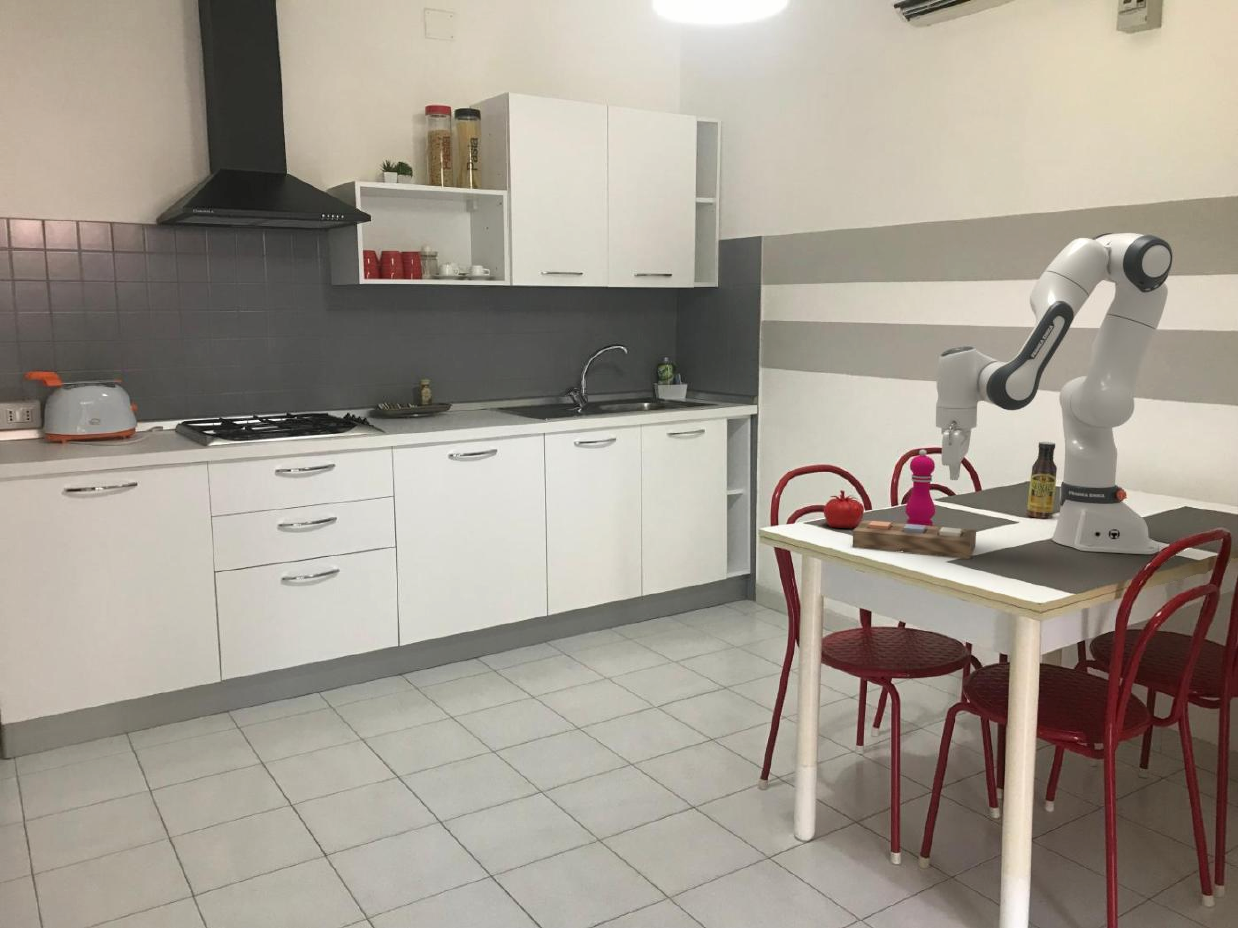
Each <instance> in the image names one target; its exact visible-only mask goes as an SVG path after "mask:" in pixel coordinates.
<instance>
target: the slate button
mask: <svg viewBox="0 0 1238 928" xmlns="http://www.w3.org/2000/svg"><path fill="white" fill-rule="evenodd" d="M905 524H906V525H905V527H904V528H903V532H911V533H921V534H925V532H926V526H925V525H914V524H907V523H905Z"/></svg>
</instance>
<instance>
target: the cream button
mask: <svg viewBox="0 0 1238 928" xmlns="http://www.w3.org/2000/svg"><path fill="white" fill-rule="evenodd" d="M941 527H942V528H941V529H940V531H939V535H943V536H953V537H961V536H962V529H963V528H957V527H956V528H955V527H946V526H945V527H944V526H941Z"/></svg>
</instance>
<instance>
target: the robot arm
mask: <svg viewBox="0 0 1238 928" xmlns="http://www.w3.org/2000/svg"><path fill="white" fill-rule="evenodd" d="M1172 263H1173V250H1172V247H1171V245H1170V244H1169V243H1168V241H1166V240H1165V239H1163V238H1160V237H1158V236H1155V235H1151V234H1146V235H1145V234H1141V233H1134V232H1125V233H1123V232H1122V233H1113V232H1112V233H1111V232H1110V233H1109V232H1108V233H1107V232H1106V233H1102V234H1098V235H1096V236H1094V237H1092V238H1088V237H1079V238H1075V239H1073V240H1071V242H1070V243H1069V244H1067V245H1066V246H1065V247H1064V248H1063V249H1062V250H1061V252H1059V253H1058V255H1056V256H1055V257H1054V259H1053V260H1052V261H1051V262H1050V264H1049V265H1048V266H1047V267H1046V269H1045V270H1044V272H1043V273H1042V274H1041V276H1040V277H1039V278H1038V280H1037V281H1036V283H1035V285H1034V286H1033V289H1032V291H1031V294H1030V295H1029V304H1030V308H1031V310H1032V312H1033V314H1034V316H1035V324H1034V328H1033V329H1032V331H1031V333H1030V334H1029V335H1028V337H1027V338H1026V340H1025V342H1024V343H1023V345H1022V347H1021V348H1020V350H1019V351H1018V353H1017V355H1016V356H1015V357H1014V358H1012V359H1010V360H1009V361H1008V362H1006V361H1001V360H998V359H995V358H993V357H990V356H988V355H986V354H984V353H982V352H980V351H979V350H977V349H976V348H975V347H973V346H960V347H954V348H950V349H948V350H946V351H943V352H942V353H941V354H940V357H939V359H938V360H939V361H938V364H937V372H936V390H937V394H938V395H937V401H936V404H935V405H936V406H935V427H936V428H939V429H940V430H941V435H942V441H941V442H942V444H941V464H942V466H947V467H949V468H948V470H949V480H950V481H958V480H959V479H960V477H961V476H960V475H961V474H960V471H961V466H962V461H963V459H964V458H965V457H966V455H967V454H968V452H969V448H970V445H971V444H970V443H971V442H970V441H971V434H972V429H974V428H976V427H978V426H977V425H978V424H977V422H978V403H979V402H981V401H982V402H983V401H984V402H986V403H989V404H991V405H995V406H997V407H999V408H1000V409H1003V410H1007V411H1017V410H1021V409H1024V408H1025V407H1026V406H1028V405H1029V404H1030V403H1032V401H1033V400H1034V399H1035V397H1036V395H1037V393H1038V390H1039V387H1040V381H1041V379H1042V375H1043V373H1044V371H1045V369H1046V368H1047V366H1048V364H1049V363H1050V361H1051V359H1052V358H1053V356H1054V355H1055V353H1056V351H1057V349H1058V348H1059V346H1060V345H1061V343H1062V342H1063V340H1064V338H1066V337H1065V336H1066V335H1067V333H1068V331H1069V329H1070V327H1071V325H1072V324H1073V322H1074V319H1075V317H1076V316H1077V315H1078V313H1079V312H1080V310H1081V309H1082V307H1083V306H1084V304H1086V302H1087V301H1088V299H1089V297H1091V294H1093V292H1094V290H1095V289H1096V287H1097V286H1098V284H1100V283H1101V282H1102V281H1105V282H1109V283H1113V284H1114V286H1115V293H1114V297H1113V299H1112V302H1111V303H1110V305H1109V307H1108V309H1107V311H1106V314H1105V315H1104V318H1103V320H1102V322H1101V325H1100V326H1099V329H1098V331H1097V334H1096V336H1095V339H1094V340H1093V343H1092V345H1091V357H1090V358H1091V359H1090V364H1089V367H1088V372H1087V374H1086V375H1084V376H1078V377H1075V378H1073V379H1071V380H1069V381H1067V382H1066V383H1065V384H1064V385H1063V386H1062V388H1061V390H1060V392H1059V404H1060V407H1061V415H1062V418H1061V419H1062V427H1063V428H1062V429H1063V437H1064V450H1065V451H1064V467H1063V468H1064V469H1063V480H1062V481H1061V483H1060V488H1059V505H1060V508H1059V515H1058V518H1057V522H1056V527H1055V530H1054V532H1053V535H1052V537H1051V540H1052V541H1053V542H1054V543H1057V544H1059V545H1063V546H1067V547H1070V548H1073V549H1076V550H1078V551H1083V552H1095V553H1096V552H1099V553H1115V554H1117V553H1118V554H1119V553H1120V554H1132V555H1133V554H1136V555H1137V554H1138V555H1154V554H1156V553H1158V551H1159V544H1158V542H1157V541H1155V540H1154V539H1152V538H1149V528H1148V526H1147V523H1146V521H1145V519H1144V518H1143V516H1141V515H1140V514H1139V513H1137V512H1136V511H1135V510H1133V509H1132V508H1131V507H1130V506H1129V505H1128V504H1126V503H1125V502H1124V500H1125V499H1126V498H1127V492H1126V490H1124V489H1123V487H1120V486H1118V485H1117V484H1116V476H1117V464H1118V463H1117V462H1118V449H1117V447H1116V442H1115V439H1114V433H1113V428H1118V427H1120V426H1123V425H1124V424H1125V423H1127V421H1129V420H1130V419H1131V417H1133V413H1134V410H1135V400H1134V397H1135V391H1136V387H1137V382H1138V378H1139V373H1140V369H1141V366H1142V363H1143V360H1144V358H1145V356H1146V353H1147V352H1148V349H1149V347H1150V344H1151V342H1152V340H1153V338H1154V335H1155V333H1156V330H1157V329H1158V327H1159V324H1160V321H1161V319H1162V316H1163V313H1164V311H1165V306H1166V303H1167V297H1168V293H1169V291H1168V290H1169V289H1168V286H1167V284H1166V283H1165V282H1166V281H1167V279H1168V276H1169V274H1170V271H1171V269H1172V265H1173V264H1172Z"/></svg>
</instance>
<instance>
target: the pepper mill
mask: <svg viewBox="0 0 1238 928" xmlns="http://www.w3.org/2000/svg"><path fill="white" fill-rule="evenodd" d="M918 453H919V455H917V456H914V457H913V458H912V459H911V460H910V462H909V469H910V471H911V472H912V474H911V481H912V483H913V485H912V491H911V495H910V497H909V499H908V501H907V502H906V506H905V514H906V515H907V517H908V519H907V520H906V524H914V525H925V526H934V525H933V524H934V523H933V521H932V520H931V519H932V518H933V517H934V516H935V514H936V507H935V502H934V501H933V499H932V496H931V491H930V487H931V486H930V485H931V482H932V481H933V474H932V473H933V472H934V471H935V468H936V466H935V465H936V463H935V461H934V460H933V458H931V456H927V455H928V454H927V453H928V452H927V450H925V449H921V450H919V452H918Z"/></svg>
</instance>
